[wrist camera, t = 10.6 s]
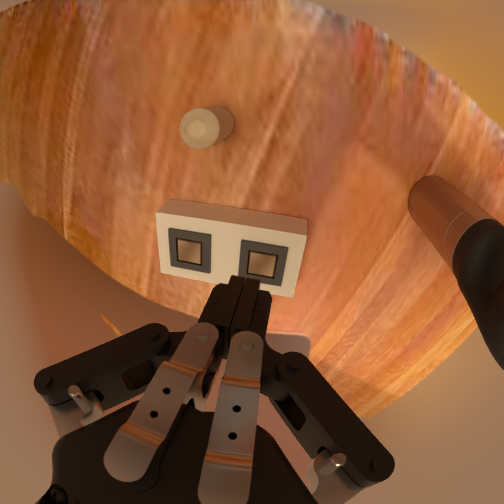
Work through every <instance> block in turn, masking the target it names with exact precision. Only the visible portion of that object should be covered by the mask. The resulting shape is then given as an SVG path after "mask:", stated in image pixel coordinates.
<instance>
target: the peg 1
mask: <svg viewBox="0 0 504 504" xmlns="http://www.w3.org/2000/svg"><path fill="white" fill-rule="evenodd" d="M178 257H179V260H183V261H188V262H193V263H198V264H201V263H202V242H199V241H193V240H187V239H182V238H178Z"/></svg>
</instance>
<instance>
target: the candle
mask: <svg viewBox="0 0 504 504" xmlns="http://www.w3.org/2000/svg"><path fill="white" fill-rule="evenodd" d="M234 123H235V122H234V118H233V116H232V114H231V113H230V112H229V111H228V110H227V109H225V108H222V107H206V108H196V109H192V110H190V111H189V112H187V113H186V114H185V115H184V116H183V118H182V120H181V122H180V127H179V131H180V135H181V138H182V140H183V141H184V142H185V143H186V144H187V145H188V146H190V147H192V148H195V149H204V148H207V147H209V146H211V145H213V144H215V143H217V142H219V141H221V140H223V139H225V138H227V137H228V136H229V135H230V134H231V133H232V131H233V129H234Z"/></svg>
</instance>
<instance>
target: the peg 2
mask: <svg viewBox="0 0 504 504" xmlns="http://www.w3.org/2000/svg"><path fill="white" fill-rule="evenodd" d="M276 256H277V255H276V254H270V253H264V252H258V251H252V250H251V251H250V261H249V270H248V273H253V274H259V275H265V276H270V277H273V273H274V267H275V262H276Z"/></svg>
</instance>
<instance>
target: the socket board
mask: <svg viewBox="0 0 504 504" xmlns="http://www.w3.org/2000/svg"><path fill="white" fill-rule="evenodd" d="M156 224H157V236H158V248H159V258H160V267H161V273H165V274H170V275H175V276H179V277H184V278H189V279H194V280H199V281H204V282H209V283H214V284H219V283H224V284H228V282H229V280H230V277H231V275H236V276H241V277H246V278H247V277H248V278H253V279H259V280H261V284H260V290H265V291H269V292H270V294H274V295H279V296H285V297H291V298H293V295H294V291H295V287H296V283H297V279H298V274H299V270H300V266H301V261H302V257H303V253H304V248H305V244H306V239H307V219H302V218H296V217H290V216H284V215H278V214H272V213H266V212H260V211H253V210H247V209H240V208H233V207H226V206H219V205H212V204H205V203H197V202H189V201H181V200H173V199H171V200H170V201H168V202H167V203H166V204H165V205H164V206H162V207H161V208H160V209H159V210H158V211H157V212H156ZM178 238H182V239H187V240H193V241H199V242H202V263H201V264H198V263H193V262H188V261H183V260H179V257H178ZM251 250H252V251H258V252H264V253H270V254H276V255H278V259H276V262H275V267H274V273H273V277H270V276H265V275H259V274H253V273H248V270H249V261H250V251H251Z"/></svg>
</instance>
